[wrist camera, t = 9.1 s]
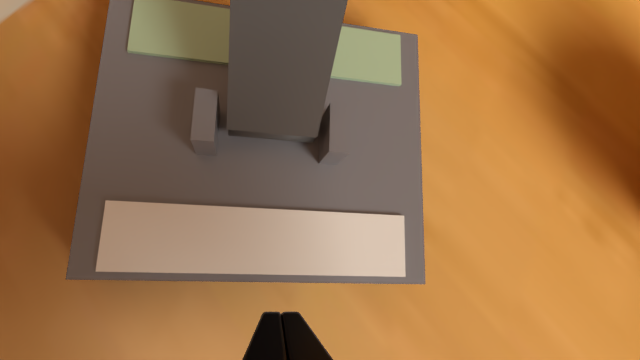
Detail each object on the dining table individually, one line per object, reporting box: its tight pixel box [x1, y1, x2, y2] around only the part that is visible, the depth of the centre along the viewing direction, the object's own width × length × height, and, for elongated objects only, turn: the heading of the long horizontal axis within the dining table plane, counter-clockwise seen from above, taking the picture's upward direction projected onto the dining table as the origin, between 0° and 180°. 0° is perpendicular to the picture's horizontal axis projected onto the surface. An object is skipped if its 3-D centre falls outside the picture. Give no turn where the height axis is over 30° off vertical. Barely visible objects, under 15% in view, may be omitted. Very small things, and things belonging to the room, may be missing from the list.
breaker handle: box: [227, 0, 347, 143], centre depth 13 cm, size 2×4×11 cm
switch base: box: [66, 0, 425, 284], centre depth 17 cm, size 12×14×5 cm
